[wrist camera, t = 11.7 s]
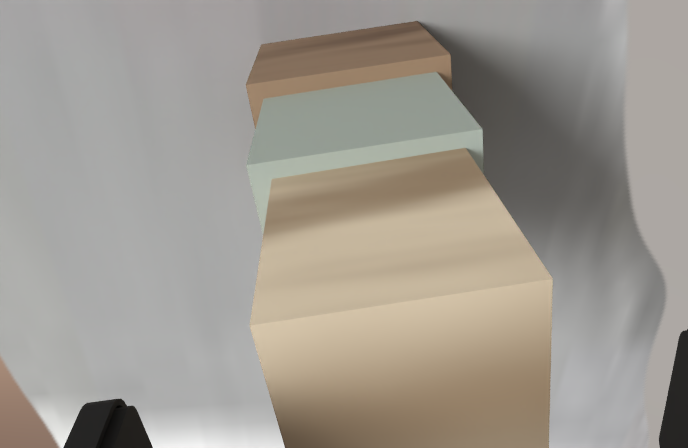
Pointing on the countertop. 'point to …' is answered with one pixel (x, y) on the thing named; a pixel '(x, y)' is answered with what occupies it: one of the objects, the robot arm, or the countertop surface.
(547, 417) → the ash block
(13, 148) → the countertop surface
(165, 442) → the countertop surface
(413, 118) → the sage top block
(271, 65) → the walnut base block
